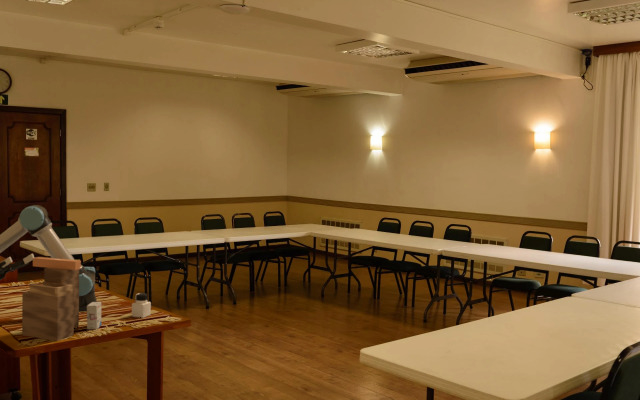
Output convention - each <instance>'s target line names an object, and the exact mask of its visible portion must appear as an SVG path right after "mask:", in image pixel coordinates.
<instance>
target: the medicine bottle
mask: <svg viewBox="0 0 640 400" xmlns="http://www.w3.org/2000/svg"><path fill="white" fill-rule="evenodd" d="M151 309H152V303H151V301H148V294H147V293H145V292H139V293H136V294H135V302H132V303H131V317H134V318H140V317H141V319H144V318H146V317H148V316H149V317H150V316H151V315H152V313H151V311H152V310H151Z"/></svg>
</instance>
